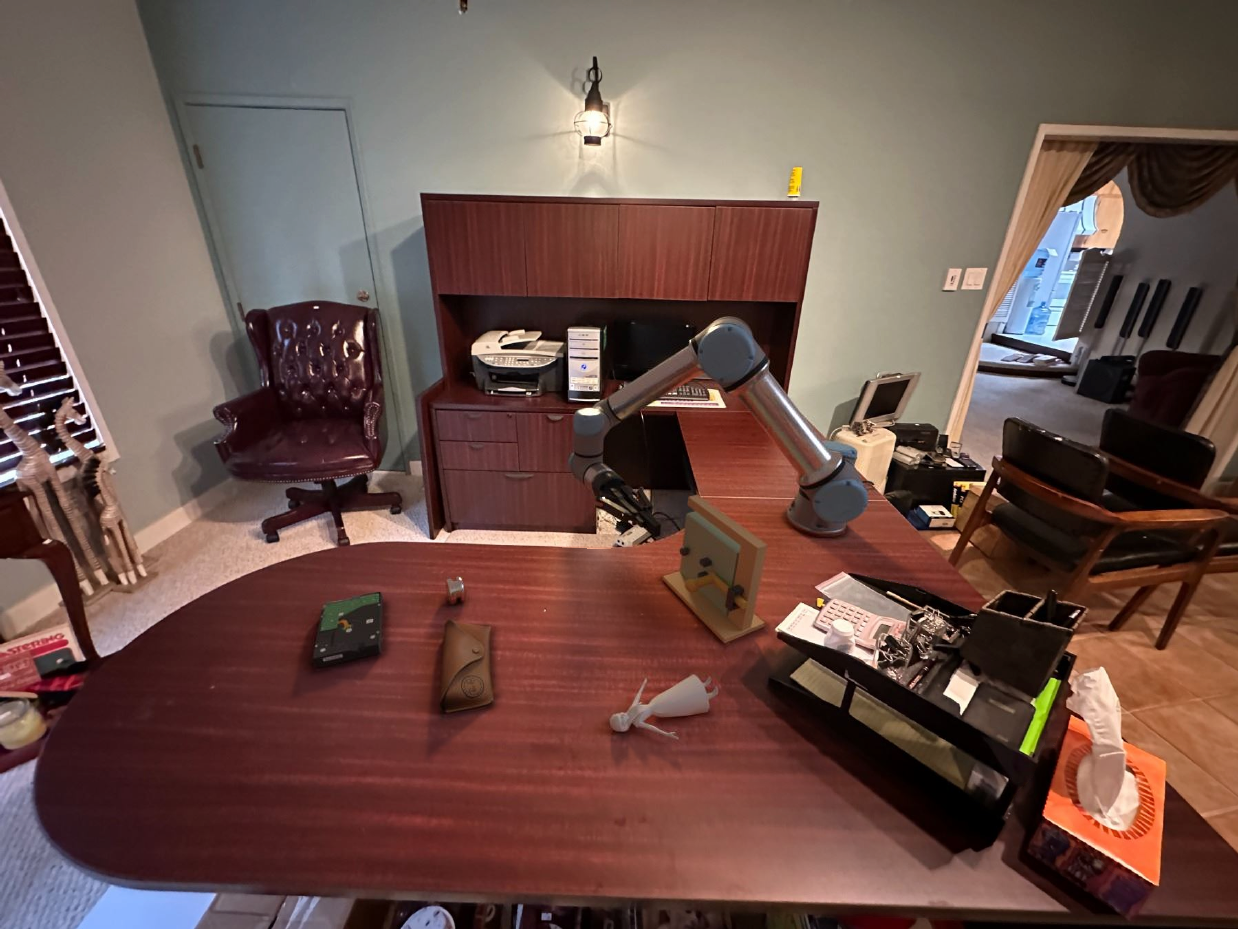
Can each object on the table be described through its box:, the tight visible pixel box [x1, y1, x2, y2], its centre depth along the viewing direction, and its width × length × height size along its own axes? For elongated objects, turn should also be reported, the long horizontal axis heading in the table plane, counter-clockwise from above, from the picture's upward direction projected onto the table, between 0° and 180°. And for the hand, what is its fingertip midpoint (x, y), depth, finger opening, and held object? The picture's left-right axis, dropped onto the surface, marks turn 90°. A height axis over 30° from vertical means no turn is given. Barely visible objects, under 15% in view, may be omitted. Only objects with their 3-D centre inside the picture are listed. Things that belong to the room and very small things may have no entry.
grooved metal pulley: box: [445, 575, 467, 605], centre depth 99 cm, size 5×3×5 cm, turn 30°
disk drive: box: [312, 591, 384, 669], centre depth 90 cm, size 10×3×15 cm
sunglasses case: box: [438, 618, 495, 714], centre depth 84 cm, size 18×7×7 cm, turn 16°
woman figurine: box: [609, 673, 719, 740], centre depth 77 cm, size 12×4×18 cm
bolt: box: [685, 572, 748, 609], centre depth 93 cm, size 7×10×3 cm
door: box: [662, 494, 768, 644], centre depth 99 cm, size 10×21×20 cm, turn 29°
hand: (657, 531), depth 102 cm, fingers closed
